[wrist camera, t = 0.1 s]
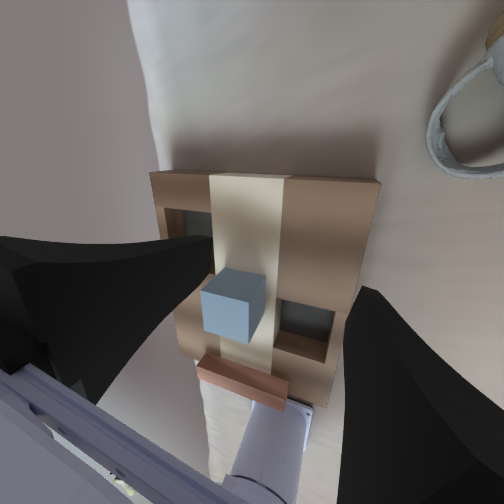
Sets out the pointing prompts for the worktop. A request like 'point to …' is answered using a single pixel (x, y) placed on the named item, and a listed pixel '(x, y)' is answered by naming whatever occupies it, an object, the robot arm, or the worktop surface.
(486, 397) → the robot arm
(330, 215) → the trap board
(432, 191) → the worktop surface
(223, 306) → the block
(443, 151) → the ceramic mug
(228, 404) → the worktop surface
